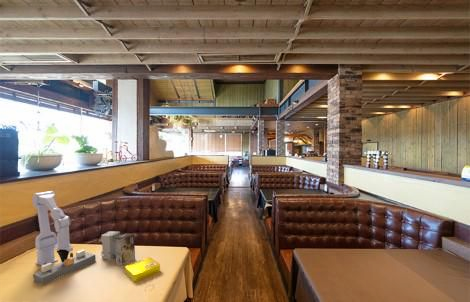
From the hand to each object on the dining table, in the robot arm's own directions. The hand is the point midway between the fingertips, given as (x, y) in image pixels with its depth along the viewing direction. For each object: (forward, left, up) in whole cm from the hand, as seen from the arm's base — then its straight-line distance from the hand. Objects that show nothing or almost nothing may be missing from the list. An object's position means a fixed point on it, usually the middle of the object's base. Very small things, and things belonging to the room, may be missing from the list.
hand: (64, 261), depth 137 cm
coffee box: (+26, +21, -5) cm, 33 cm away
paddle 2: (0, +9, -1) cm, 9 cm away
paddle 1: (+1, -9, -1) cm, 9 cm away
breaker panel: (+3, 0, -5) cm, 5 cm away
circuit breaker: (+14, +23, -5) cm, 27 cm away
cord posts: (-5, 0, -5) cm, 7 cm away
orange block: (+5, 0, -1) cm, 5 cm away
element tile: (+46, +16, -5) cm, 49 cm away
